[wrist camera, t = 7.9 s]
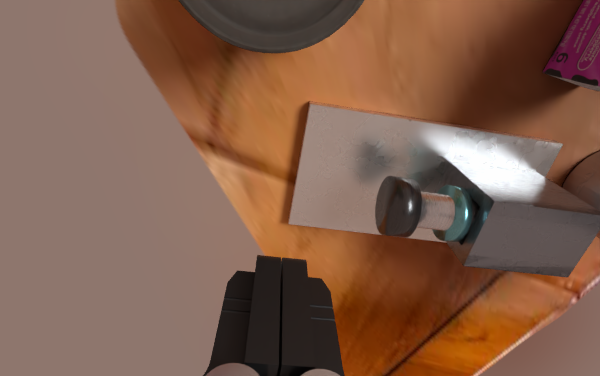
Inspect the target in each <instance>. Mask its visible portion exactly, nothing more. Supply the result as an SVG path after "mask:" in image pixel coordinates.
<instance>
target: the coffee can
mask: <svg viewBox="0 0 600 376" xmlns="http://www.w3.org/2000/svg"><path fill="white" fill-rule="evenodd" d="M179 1H180V3H181V4H182V5H183V6H184V8H185V9H186V10H187V11H188V12H189V13H190V14H191V15H192V16H193V17H194V18H195V19H196V20H197V21H198V22H199V23H200V24H201V25H202V26H204V27H205V28H206V29H207V30H209V31H210V32H211V33H213V34H214V35H216V36H217V37H219V38H220V39H222V40H224V41H226V42H228V43H230V44H232V45H235V46H237V47H240V48H243V49H247V50H251V51H255V52H262V53H286V52H292V51H297V50H301V49H304V48H307V47H310V46H312V45H314V44H316V43H318V42H320V41H322V40H324V39H325V38H327V37H329V36H330V35H332V34H333V33H334V32H336V31H337V30H338V29H339V28H340V27H342V26H343V25H344V24H345V23H346V22H347V21H348V20H349V19H350V18H351V17H352V16H353V15H354V14H355V13H356V11H357V10H358V9H359V7H360V6H361V5H362V3H363V2H364V0H179Z"/></svg>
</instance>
